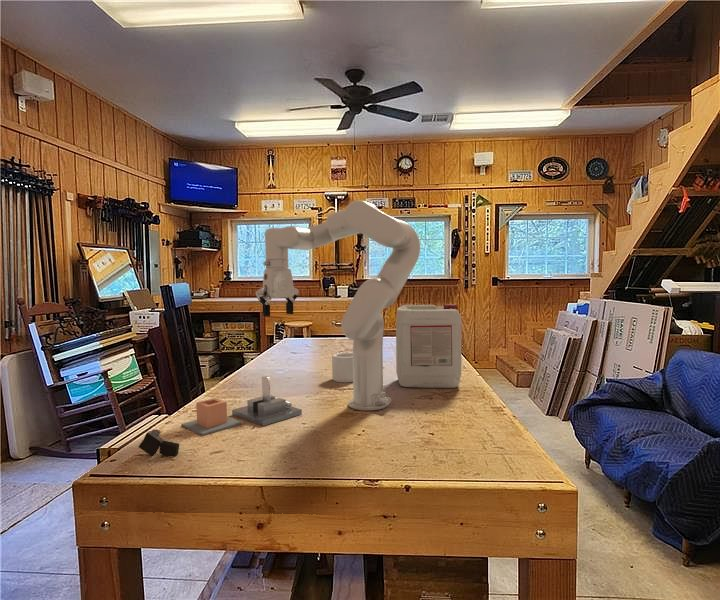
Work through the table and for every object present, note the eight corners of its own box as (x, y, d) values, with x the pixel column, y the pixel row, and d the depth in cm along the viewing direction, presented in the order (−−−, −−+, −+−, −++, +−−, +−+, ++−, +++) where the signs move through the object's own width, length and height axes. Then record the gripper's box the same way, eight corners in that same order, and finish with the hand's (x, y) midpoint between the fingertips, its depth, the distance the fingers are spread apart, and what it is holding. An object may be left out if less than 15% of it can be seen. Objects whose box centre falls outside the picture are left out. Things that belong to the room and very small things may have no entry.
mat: (241, 424, 132) (241, 422, 132) (202, 435, 123) (202, 433, 123) (219, 415, 140) (219, 413, 140) (181, 425, 131) (181, 423, 131)
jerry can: (457, 377, 184) (457, 302, 182) (463, 389, 165) (463, 306, 163) (397, 377, 186) (396, 302, 184) (396, 389, 168) (395, 306, 166)
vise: (301, 414, 140) (300, 376, 139) (263, 426, 130) (261, 385, 129) (270, 404, 151) (269, 369, 150) (232, 414, 141) (230, 377, 140)
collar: (227, 422, 132) (226, 401, 131) (207, 428, 127) (206, 406, 127) (216, 418, 136) (215, 398, 136) (197, 423, 132) (196, 402, 131)
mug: (359, 382, 178) (358, 357, 177) (331, 383, 178) (330, 357, 178) (360, 374, 192) (359, 350, 191) (334, 375, 192) (333, 351, 191)
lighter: (173, 463, 112) (184, 444, 111) (168, 467, 110) (179, 448, 109) (143, 443, 113) (154, 424, 112) (138, 447, 110) (149, 427, 110)
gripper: (262, 264, 148) (263, 318, 150) (303, 264, 161) (305, 313, 162) (249, 265, 154) (250, 316, 155) (290, 265, 166) (291, 312, 167)
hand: (278, 315), depth 158 cm, fingers open, 9 cm apart
